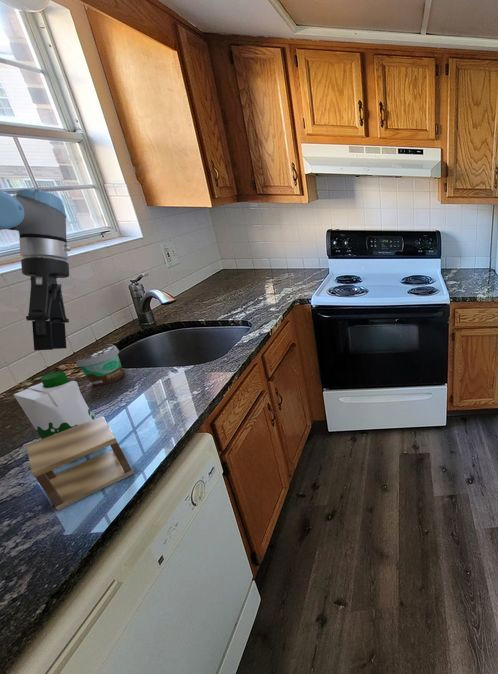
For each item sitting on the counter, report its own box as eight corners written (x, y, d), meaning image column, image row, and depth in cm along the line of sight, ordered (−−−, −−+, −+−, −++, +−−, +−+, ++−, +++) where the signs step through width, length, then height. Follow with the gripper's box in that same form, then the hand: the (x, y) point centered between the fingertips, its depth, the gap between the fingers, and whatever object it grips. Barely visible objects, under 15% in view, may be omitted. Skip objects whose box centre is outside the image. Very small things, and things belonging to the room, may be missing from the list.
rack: (49, 480, 81) (25, 445, 76) (120, 449, 89) (102, 415, 85) (57, 510, 73) (31, 473, 69) (134, 473, 82) (115, 437, 78)
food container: (108, 388, 116) (94, 360, 111) (88, 388, 116) (74, 361, 111) (138, 368, 127) (126, 342, 122) (120, 369, 127) (108, 343, 122)
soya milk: (113, 440, 92) (77, 372, 84) (70, 465, 85) (25, 393, 76) (90, 434, 95) (53, 367, 87) (47, 458, 87) (1, 387, 79)
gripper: (55, 251, 78) (61, 349, 79) (78, 268, 98) (83, 347, 98) (1, 247, 73) (8, 352, 74) (37, 266, 93) (42, 349, 94)
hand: (51, 349), depth 86 cm, fingers open, 13 cm apart
